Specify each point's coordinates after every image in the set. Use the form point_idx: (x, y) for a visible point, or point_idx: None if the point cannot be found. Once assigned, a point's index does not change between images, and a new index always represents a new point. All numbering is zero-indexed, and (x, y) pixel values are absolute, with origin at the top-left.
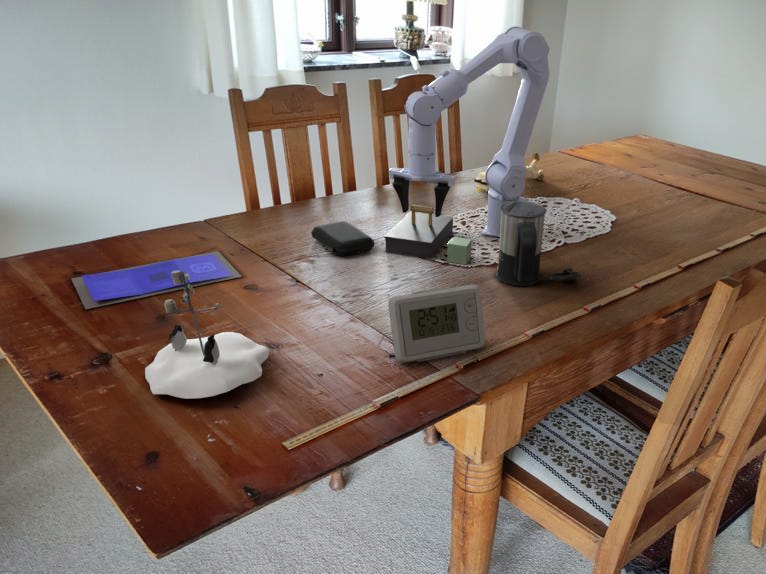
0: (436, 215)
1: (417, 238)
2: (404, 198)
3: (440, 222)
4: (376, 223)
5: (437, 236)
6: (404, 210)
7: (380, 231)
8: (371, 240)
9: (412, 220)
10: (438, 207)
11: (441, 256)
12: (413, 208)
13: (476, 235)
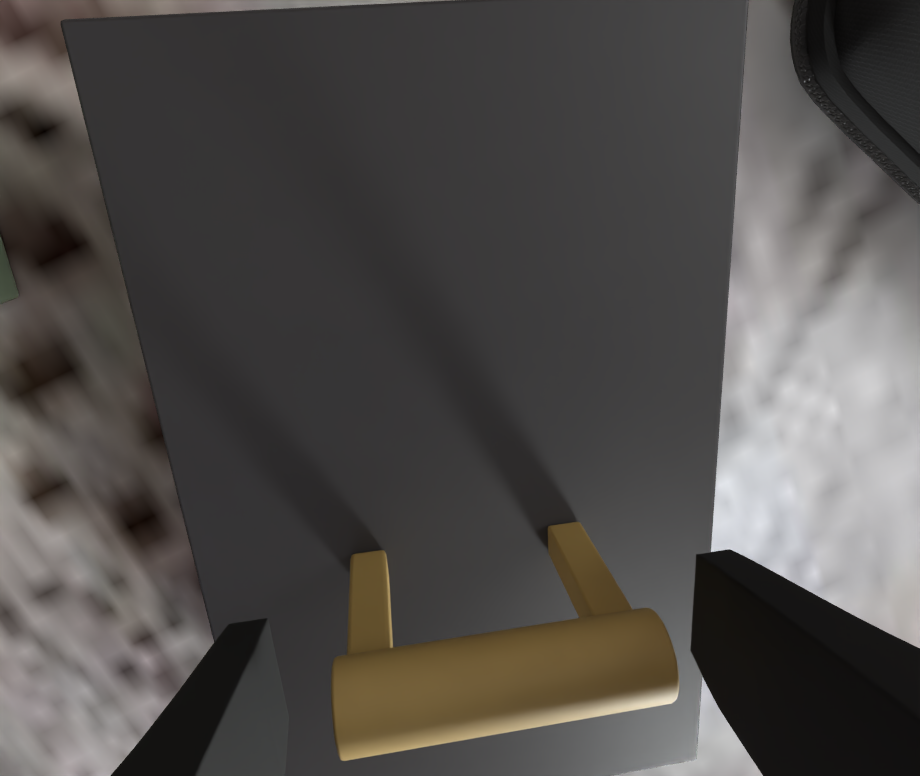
0: (243, 632)
1: (317, 102)
2: (846, 704)
3: (307, 677)
4: (884, 595)
5: (140, 325)
6: (724, 562)
7: (820, 479)
8: (857, 3)
9: (580, 539)
10: (155, 732)
11: (101, 207)
12: (618, 632)
13: (85, 758)
